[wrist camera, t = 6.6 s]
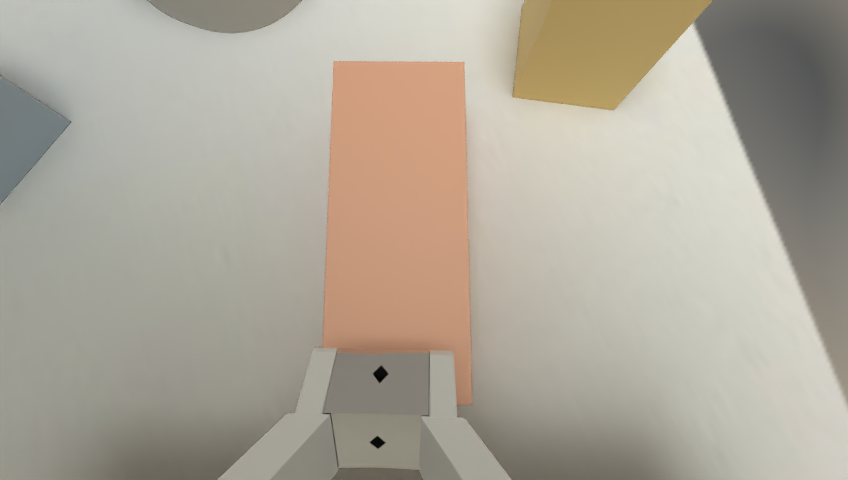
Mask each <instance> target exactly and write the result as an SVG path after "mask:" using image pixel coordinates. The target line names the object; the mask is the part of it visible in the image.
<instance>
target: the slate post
mask: <svg viewBox="0 0 848 480" xmlns="http://www.w3.org/2000/svg"><path fill="white" fill-rule="evenodd" d="M70 123H71V122H70V121H69V120H67V119H66V118H64V117H63V116H61V115H60V114H58V113H57V112H55V111H54V110H52V109H51V108H49V107H48V106H46V105H45V104H43V103H42V102H40V101H39V100H37V99H36V98H34V97H32V96H31V95H29V94H28V93H26V92H25V91H23V90H22V89H20V88H19V87H17V86H16V85H14V84H13V83H11V82H10V81H8V80H7V79H5V78H4V77H2V76H1V75H0V204H1V203H2V202H3V201H4V200H5V198H6V197H7V196H8V195H9V194H10V193H11V191H12V190H13V189H14V188H15V187H16V186H17V184H18V183H19V182H20V181H21V180H22V179H23V177H24V176H25V175H26V174H27V173H28V172H29V170H30V169H31V168H32V167H33V166H34V165H35V163H36V162H37V161H38V160H39V159H40V158H41V156H42V155H43V154H44V153H45V152H46V151H47V150H48V148H49V147H50V146H51V145H52V144H53V143H54V141H55V140H56V139H57V138H58V137H59V136H60V134H61V133H62V132H63V131H64V130H65V129H66V127H67V126H68V125H69V124H70Z"/></svg>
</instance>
